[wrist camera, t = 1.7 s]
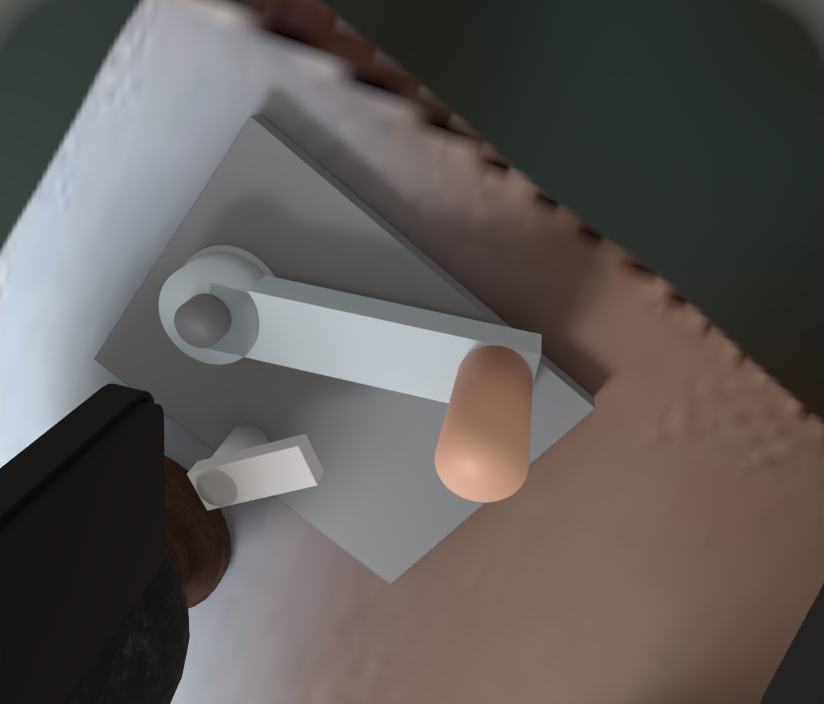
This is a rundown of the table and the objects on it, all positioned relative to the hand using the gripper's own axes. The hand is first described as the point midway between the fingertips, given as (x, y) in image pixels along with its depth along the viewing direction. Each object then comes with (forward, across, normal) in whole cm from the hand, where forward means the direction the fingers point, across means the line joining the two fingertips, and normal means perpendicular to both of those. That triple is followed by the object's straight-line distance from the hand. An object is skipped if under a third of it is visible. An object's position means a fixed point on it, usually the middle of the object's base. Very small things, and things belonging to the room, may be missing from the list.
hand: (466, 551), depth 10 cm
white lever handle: (+19, +6, +6) cm, 21 cm away
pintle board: (+20, +7, +9) cm, 23 cm away
